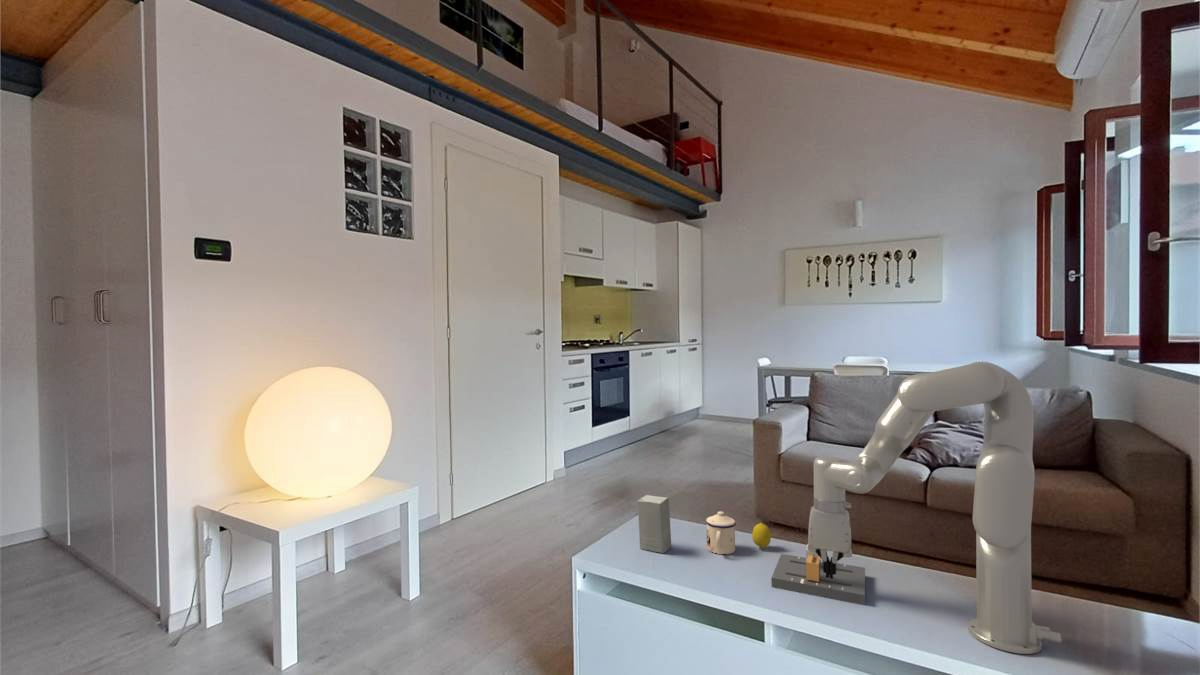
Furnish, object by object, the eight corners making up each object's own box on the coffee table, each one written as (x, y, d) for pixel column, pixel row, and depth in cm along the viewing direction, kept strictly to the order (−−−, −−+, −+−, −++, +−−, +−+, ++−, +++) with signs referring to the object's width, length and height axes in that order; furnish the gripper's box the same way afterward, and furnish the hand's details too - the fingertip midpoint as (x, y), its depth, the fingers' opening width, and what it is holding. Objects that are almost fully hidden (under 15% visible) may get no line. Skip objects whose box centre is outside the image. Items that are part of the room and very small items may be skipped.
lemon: (768, 545, 169) (768, 520, 169) (772, 552, 163) (772, 526, 163) (750, 544, 169) (750, 519, 169) (754, 551, 164) (754, 525, 164)
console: (865, 576, 146) (865, 567, 146) (864, 605, 130) (864, 594, 130) (781, 561, 156) (781, 553, 156) (771, 587, 140) (771, 577, 140)
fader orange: (820, 574, 141) (820, 554, 141) (818, 581, 137) (818, 561, 137) (808, 572, 142) (808, 552, 142) (806, 579, 138) (806, 559, 138)
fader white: (819, 561, 149) (819, 543, 150) (817, 567, 145) (817, 549, 145) (807, 559, 151) (807, 541, 151) (806, 565, 146) (806, 547, 146)
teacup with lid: (708, 542, 171) (707, 506, 171) (737, 546, 168) (736, 509, 168) (702, 556, 160) (702, 517, 160) (733, 560, 157) (733, 521, 157)
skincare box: (671, 547, 167) (671, 497, 167) (661, 555, 161) (661, 502, 161) (647, 542, 172) (647, 493, 172) (637, 549, 166) (637, 498, 166)
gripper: (861, 505, 138) (861, 576, 138) (800, 497, 145) (800, 565, 144) (861, 513, 131) (861, 588, 131) (797, 505, 138) (797, 576, 138)
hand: (829, 576), depth 138 cm, fingers closed
